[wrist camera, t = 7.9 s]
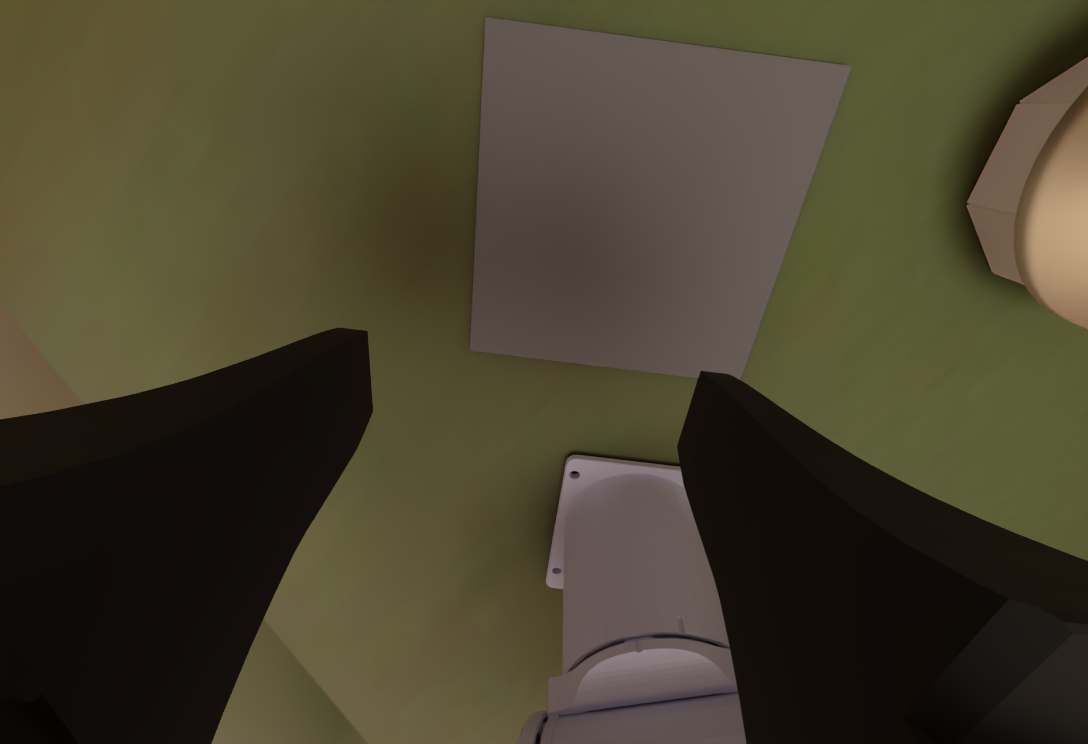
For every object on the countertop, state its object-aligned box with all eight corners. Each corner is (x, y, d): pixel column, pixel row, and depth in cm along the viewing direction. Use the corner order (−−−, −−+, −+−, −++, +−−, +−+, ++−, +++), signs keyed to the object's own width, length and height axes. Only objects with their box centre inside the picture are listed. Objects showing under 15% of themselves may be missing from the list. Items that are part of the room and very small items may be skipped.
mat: (737, 380, 22) (739, 383, 22) (471, 347, 22) (469, 350, 21) (847, 66, 16) (851, 66, 16) (486, 18, 16) (485, 17, 16)
